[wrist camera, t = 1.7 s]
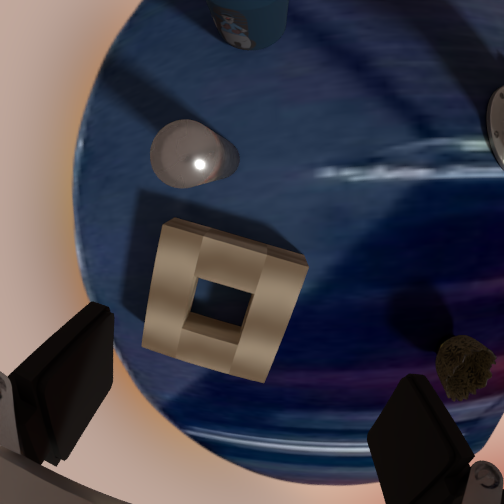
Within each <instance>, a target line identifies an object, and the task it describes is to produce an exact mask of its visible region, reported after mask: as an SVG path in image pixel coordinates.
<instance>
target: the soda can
mask: <svg viewBox="0 0 504 504" xmlns="http://www.w3.org/2000/svg"><path fill="white" fill-rule="evenodd" d="M206 2H207V4H208V7H209V9H210V12H211V14H212V17H213V19H214V22H215V24H216V27H217V29H218V32H219V34H220V36H221V37H222V39H223V40H224V41H225V42H227V43H228V44H230V45H231V46H233V47H236V48H238V49H243V50H259V49H263V48H266V47H268V46H270V45H272V44H274V43H275V42H276V41H278V40H279V39H280V37H281V36H282V35H283V33H284V31H285V28H286V20H287V11H288V2H289V0H206Z"/></svg>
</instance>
